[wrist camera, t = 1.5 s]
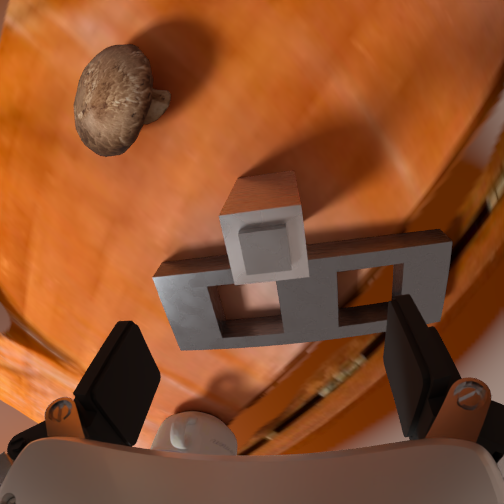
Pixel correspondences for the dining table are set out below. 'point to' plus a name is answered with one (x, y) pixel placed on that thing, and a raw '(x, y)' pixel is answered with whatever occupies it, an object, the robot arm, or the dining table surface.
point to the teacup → (195, 435)
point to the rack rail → (305, 293)
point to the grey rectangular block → (265, 229)
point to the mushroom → (116, 100)
